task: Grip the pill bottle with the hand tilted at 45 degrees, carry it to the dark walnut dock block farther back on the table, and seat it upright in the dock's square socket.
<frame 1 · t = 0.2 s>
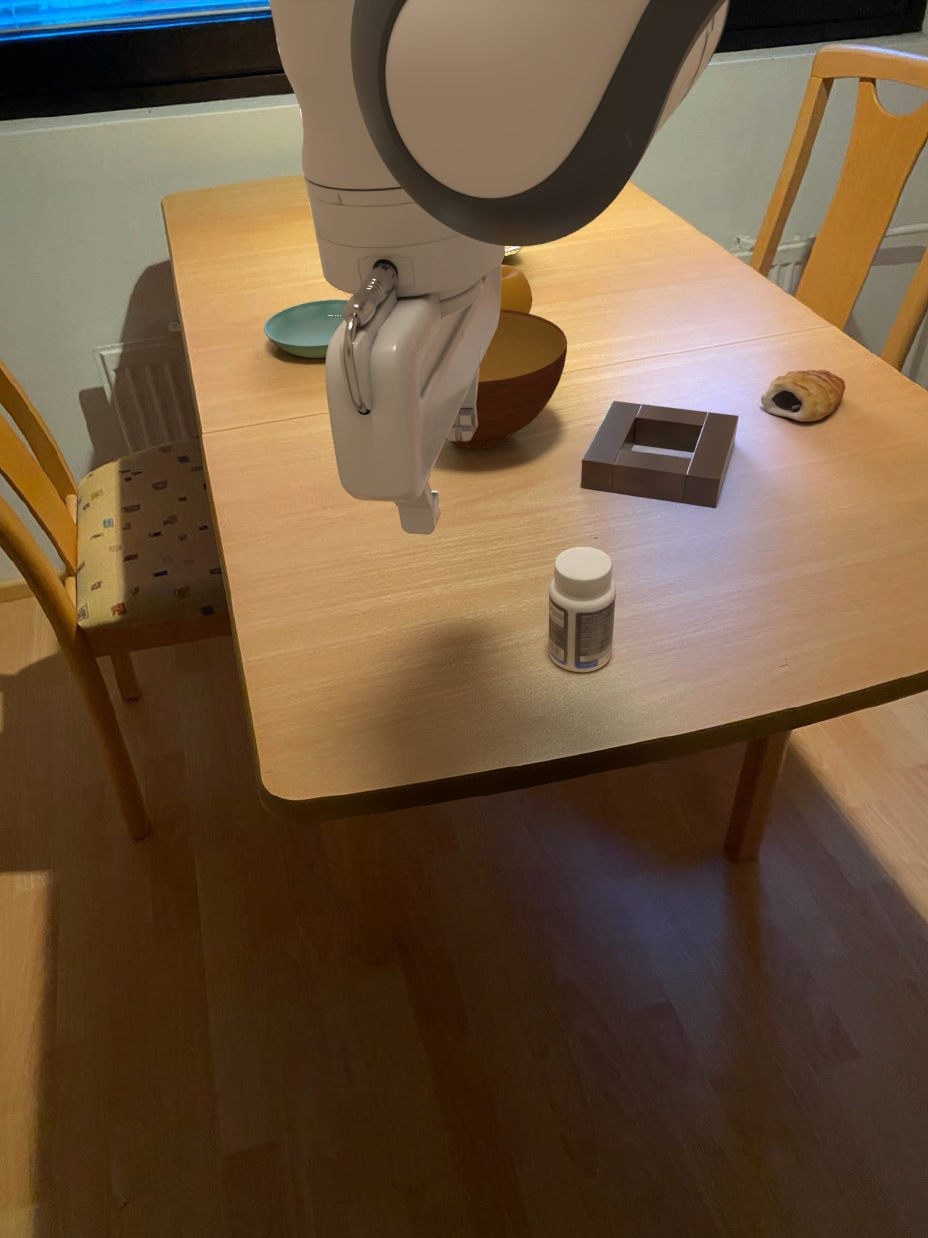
hand: (443, 478, 53), 19 cm above the table, tool pointing down, fingers open, 8 cm apart
dock: (659, 464, 91), on the table
plate: (430, 253, 143), on the table
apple: (498, 340, 116), on the table
bowl: (479, 436, 97), on the table
pill bottle: (579, 654, 70), on the table
pastry: (801, 408, 99), on the table
saucer: (326, 342, 118), on the table
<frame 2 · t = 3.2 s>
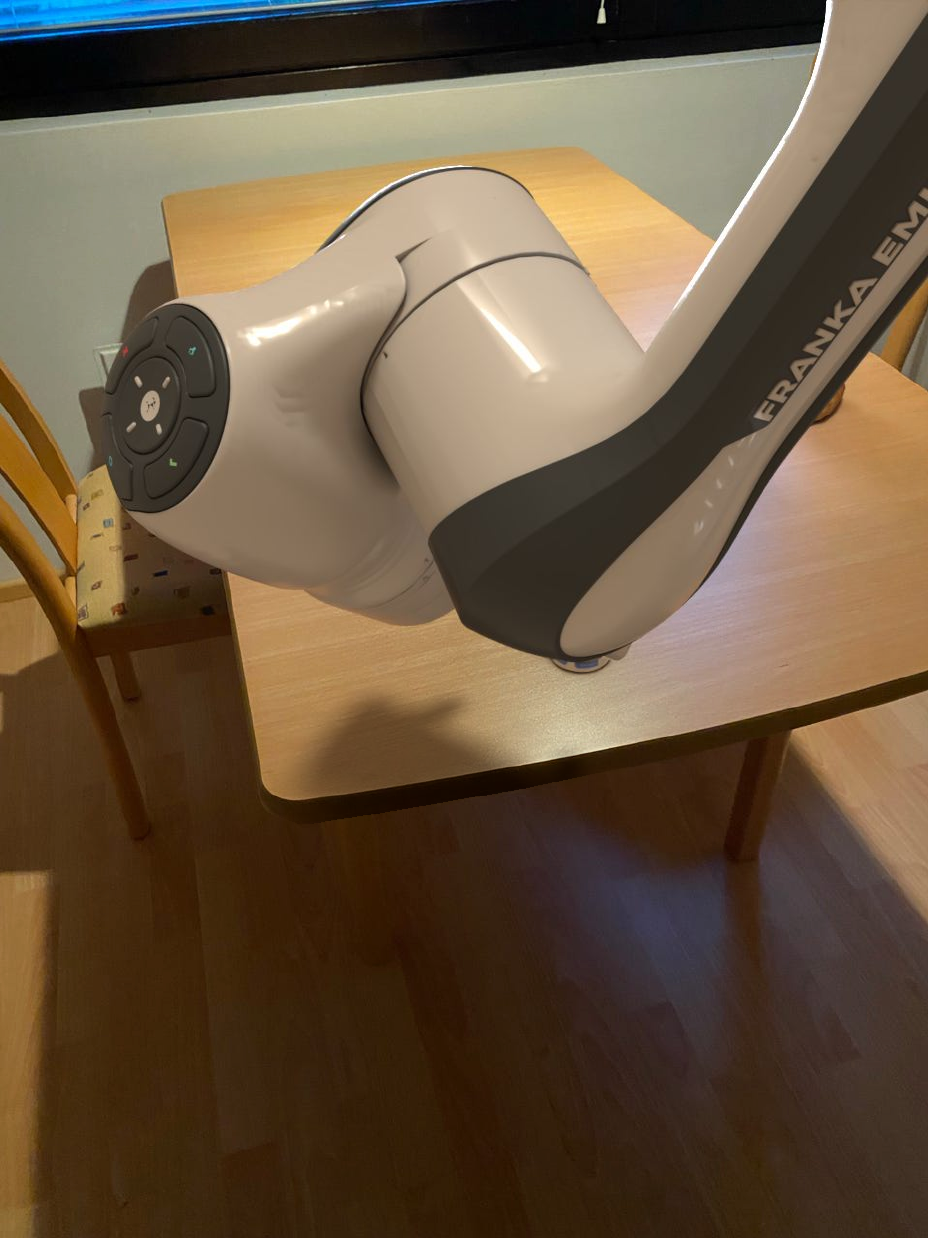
hand: (513, 588, 56), 12 cm above the table, tool tilted 45°, fingers open, 8 cm apart
nothing on the table moved.
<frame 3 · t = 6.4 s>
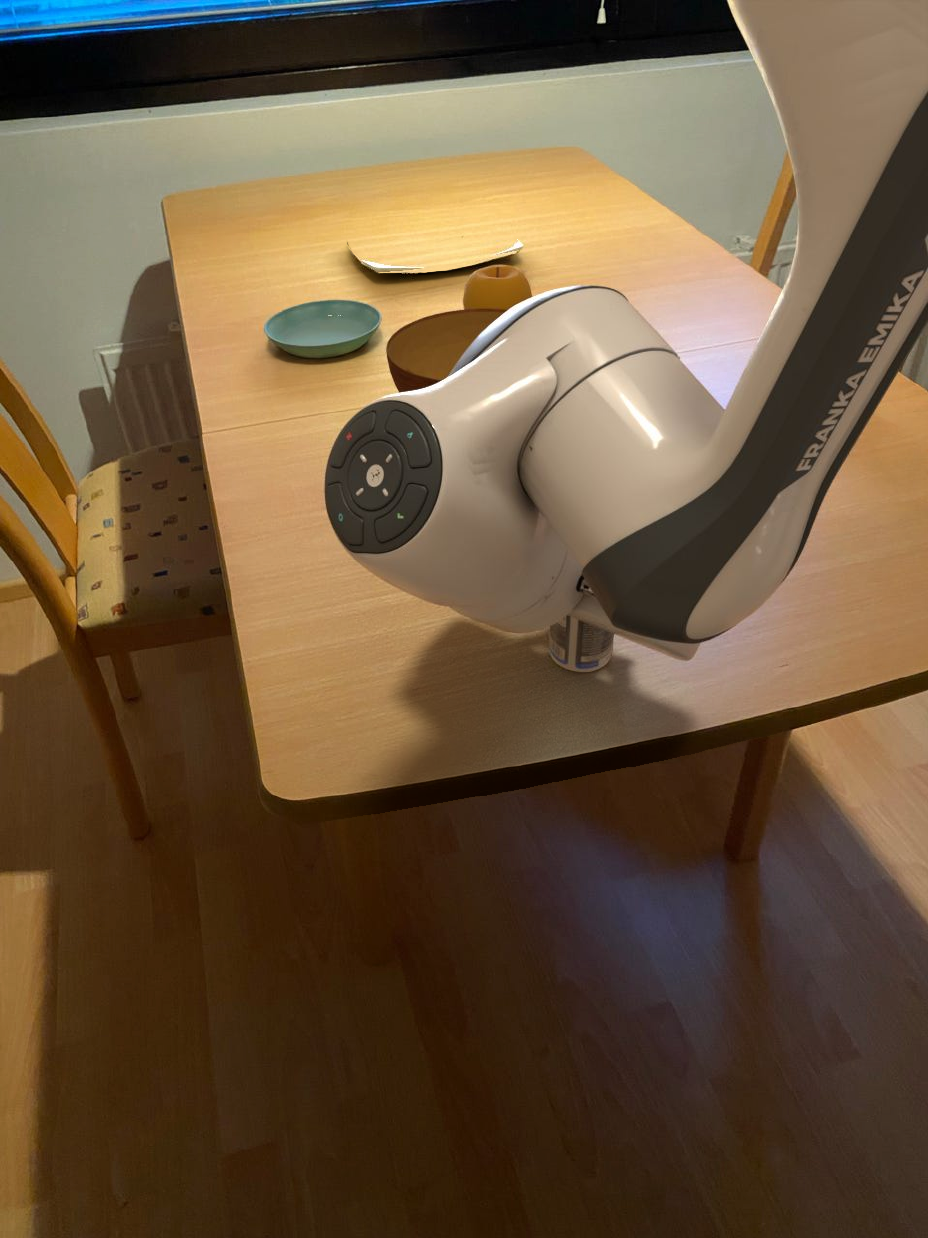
hand: (590, 599, 67), 5 cm above the table, tool tilted 45°, fingers closed on pill bottle, 5 cm apart
pill bottle: (579, 654, 70), on the table, touching gripper
everything else where it was.
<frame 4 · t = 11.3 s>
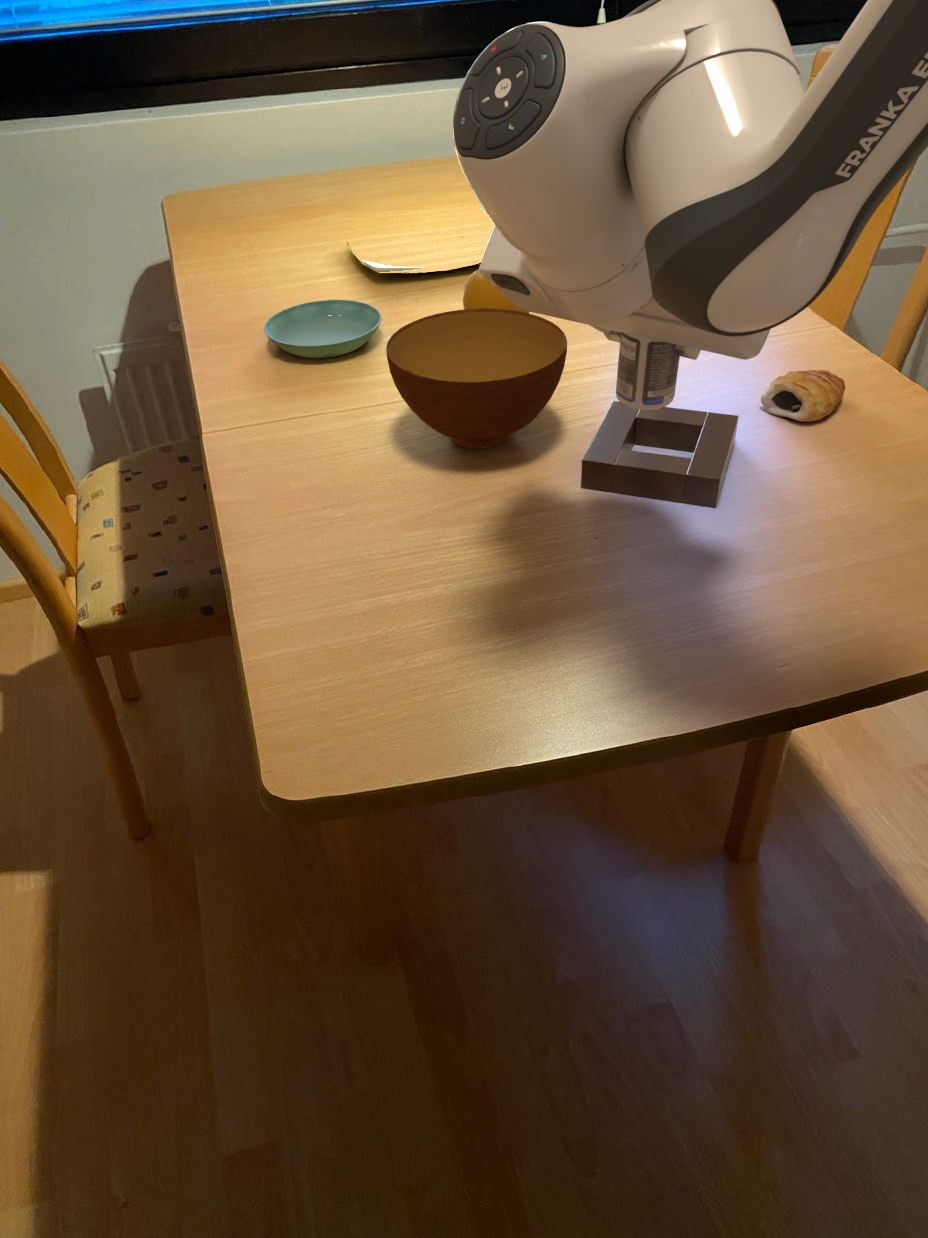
hand: (655, 341, 73), 16 cm above the table, tool tilted 45°, fingers closed on pill bottle, 5 cm apart
pill bottle: (643, 399, 76), point 12 cm above the table, touching gripper
everything else where it was.
when the fingers open (4 cm above the table, at t = 16.2 s): pill bottle stays where it is, resting in dock.
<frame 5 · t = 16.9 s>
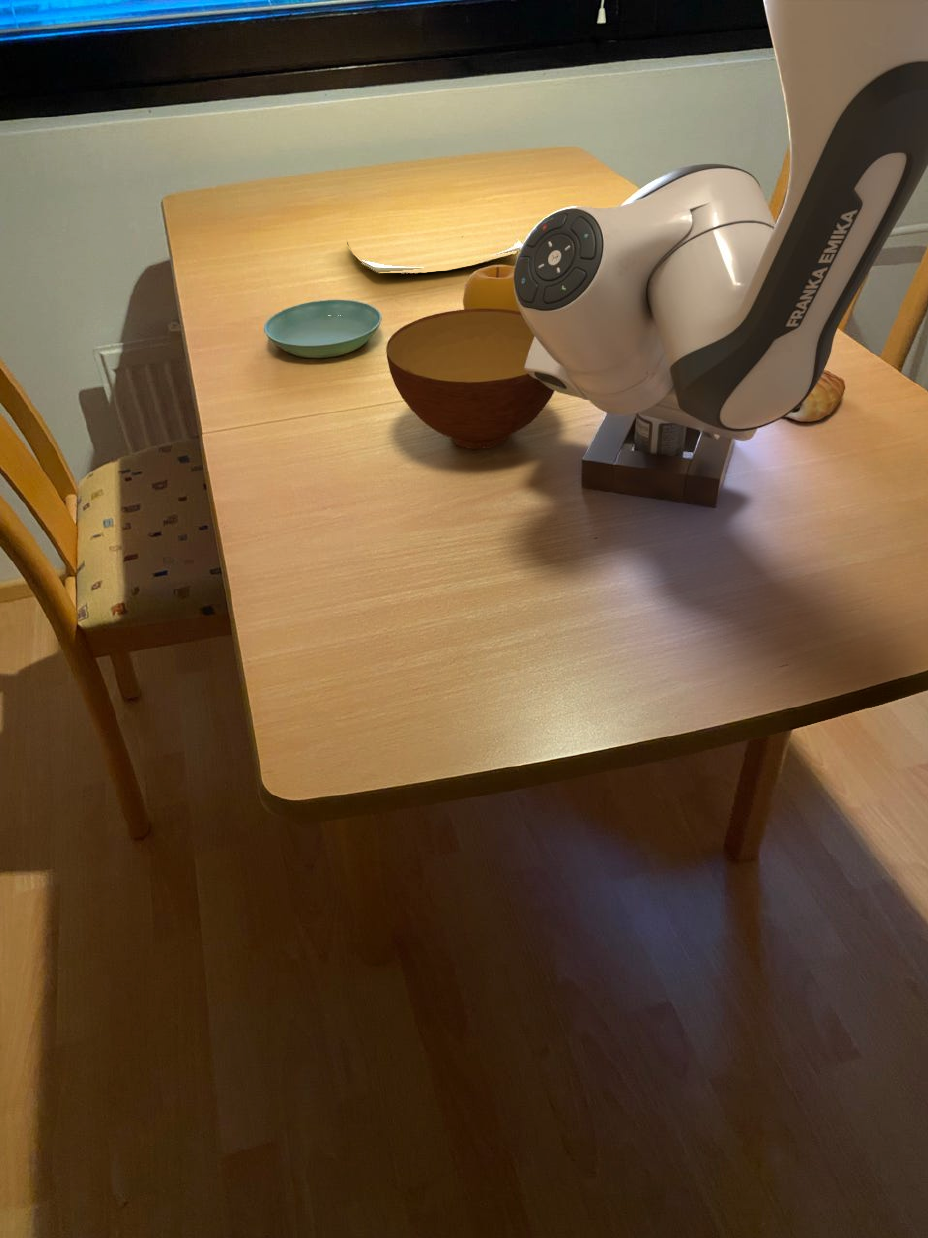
hand: (667, 417, 88), 5 cm above the table, tool tilted 45°, fingers open, 8 cm apart
pill bottle: (656, 467, 91), resting in dock
everything else where it was.
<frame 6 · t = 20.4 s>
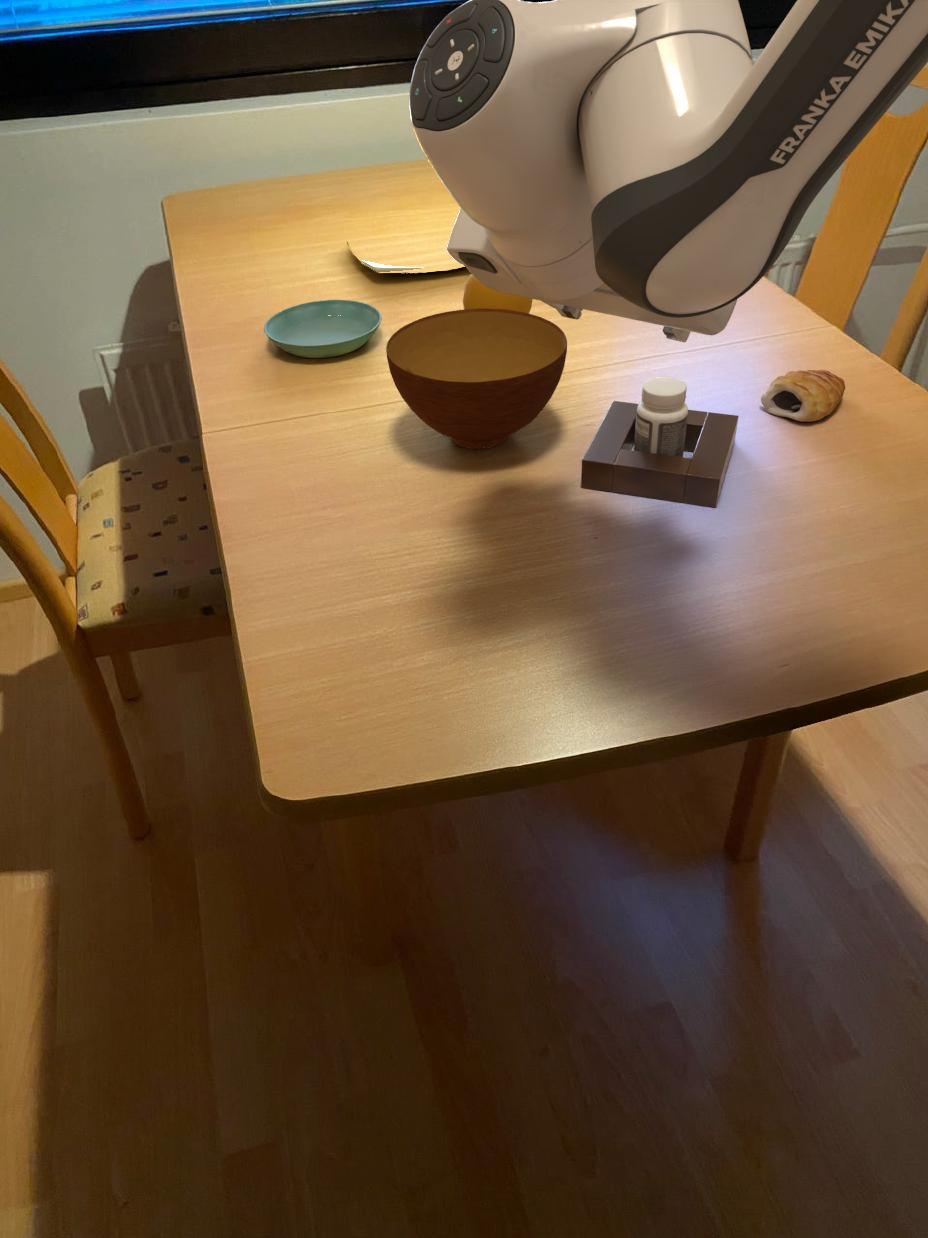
hand: (626, 320, 74), 18 cm above the table, tool tilted 45°, fingers open, 8 cm apart
nothing on the table moved.
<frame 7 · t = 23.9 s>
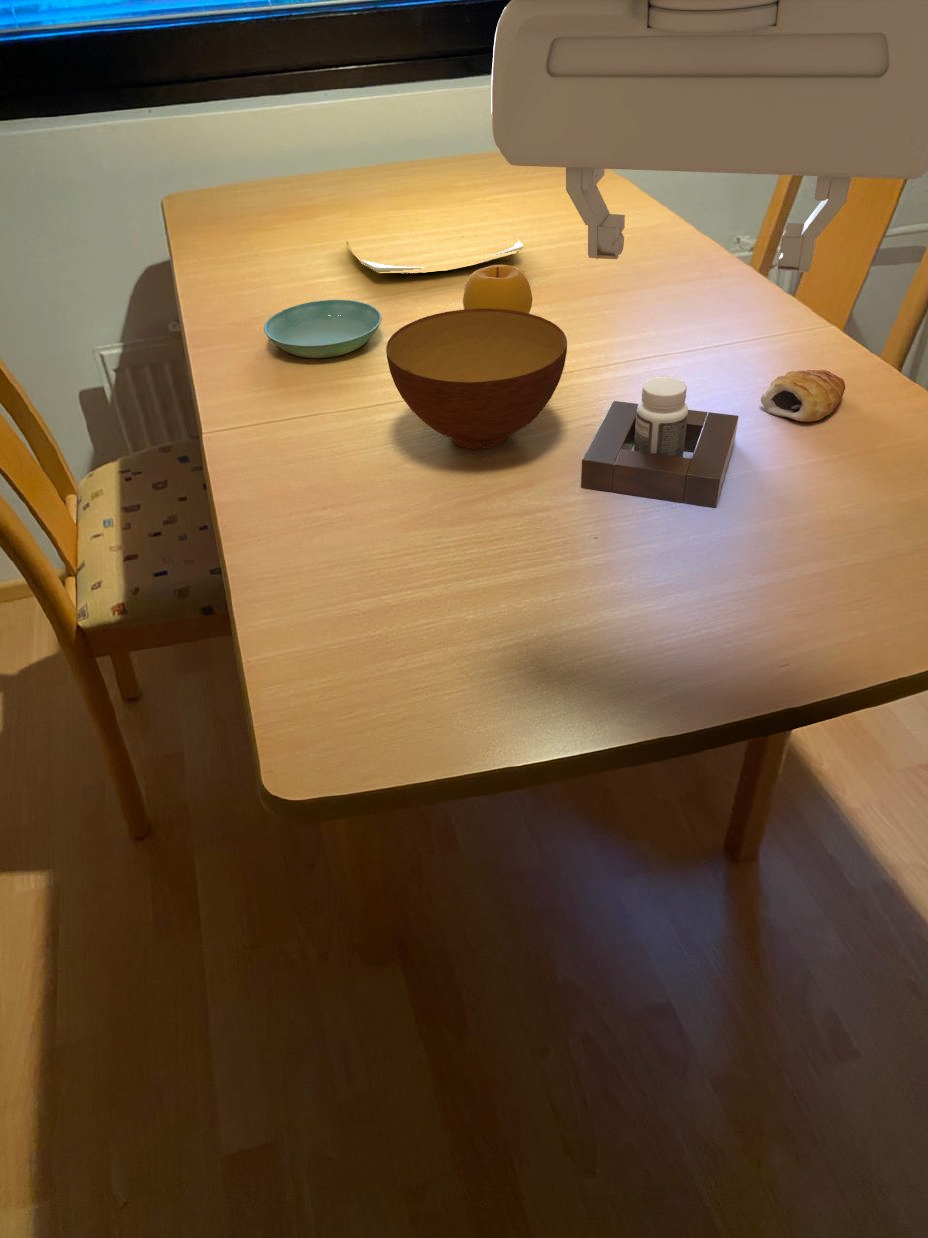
hand: (697, 261, 47), 30 cm above the table, tool pointing down, fingers open, 8 cm apart
nothing on the table moved.
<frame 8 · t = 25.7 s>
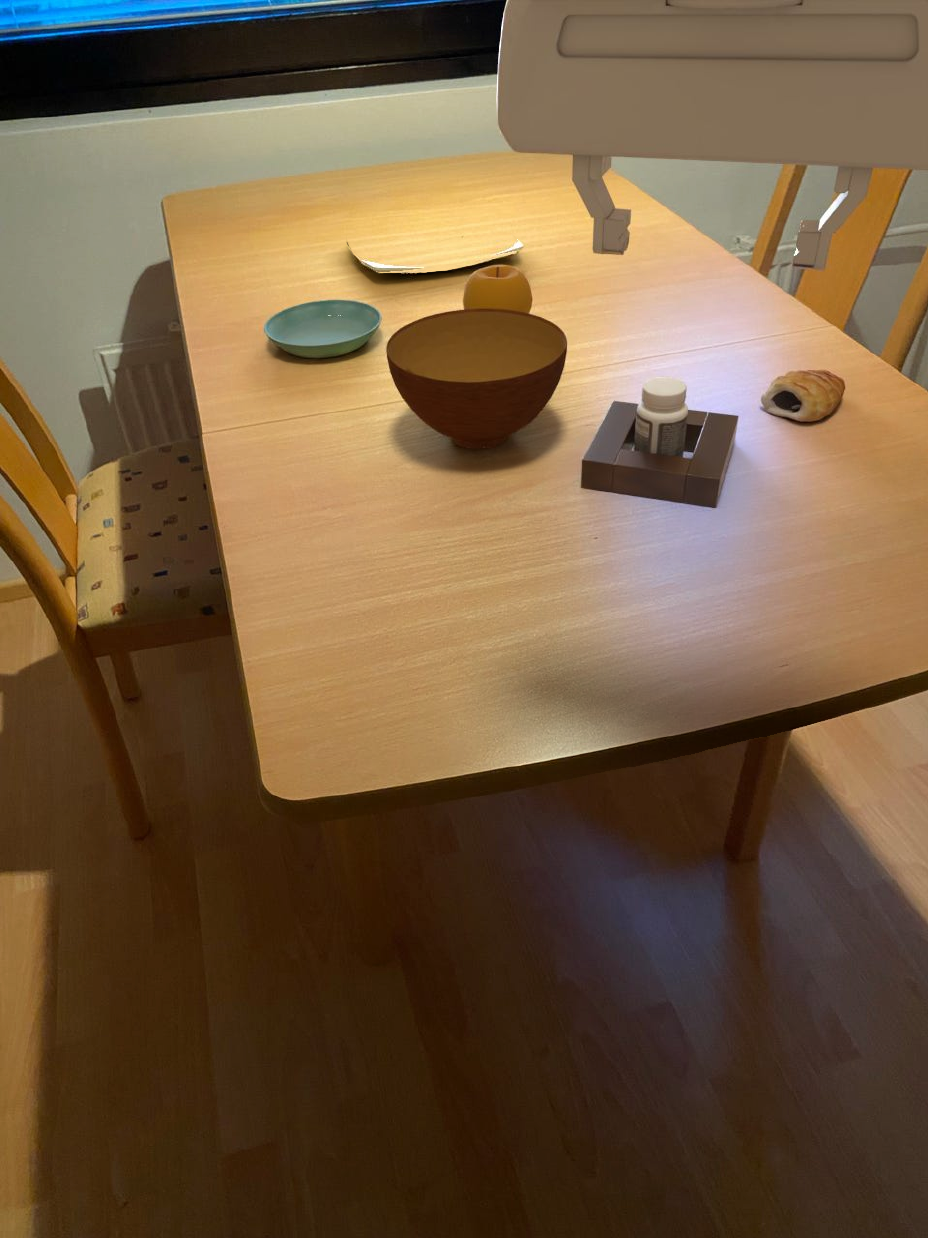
hand: (706, 258, 45), 31 cm above the table, tool pointing down, fingers open, 8 cm apart
nothing on the table moved.
at the end: pill bottle 0.4 cm off-centre in the dock, point 0.0 cm above the dock's base; pill bottle tilted 0°; the gripper is holding nothing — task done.
